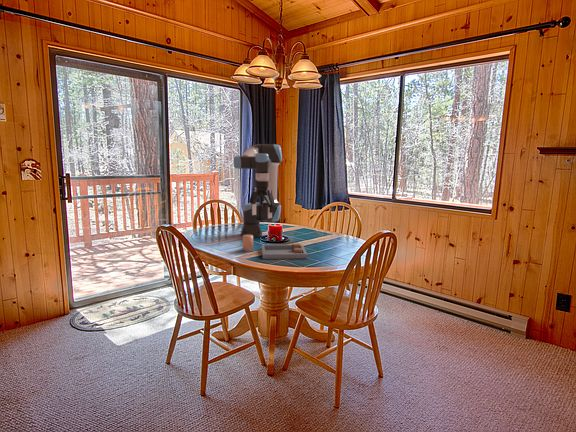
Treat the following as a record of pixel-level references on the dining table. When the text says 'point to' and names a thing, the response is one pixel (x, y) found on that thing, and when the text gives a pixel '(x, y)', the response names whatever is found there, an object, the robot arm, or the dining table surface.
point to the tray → (281, 252)
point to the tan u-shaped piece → (247, 243)
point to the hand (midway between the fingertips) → (261, 216)
